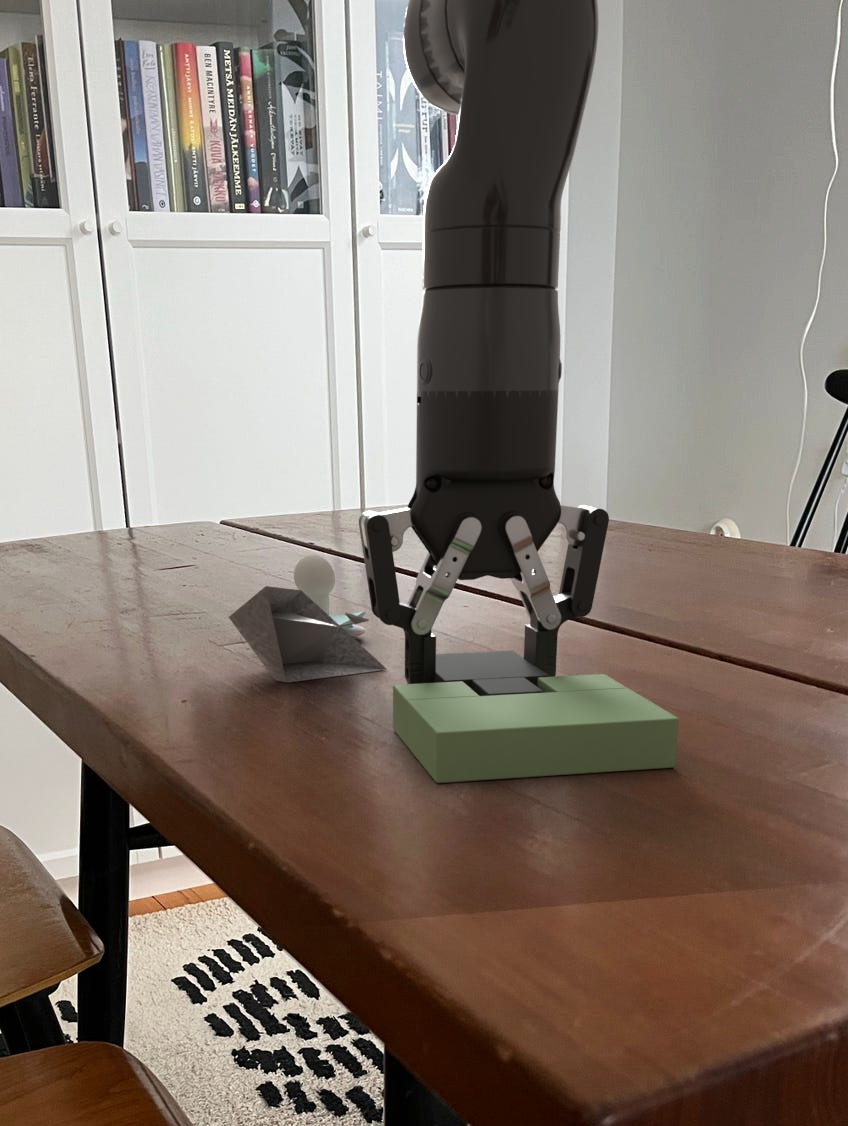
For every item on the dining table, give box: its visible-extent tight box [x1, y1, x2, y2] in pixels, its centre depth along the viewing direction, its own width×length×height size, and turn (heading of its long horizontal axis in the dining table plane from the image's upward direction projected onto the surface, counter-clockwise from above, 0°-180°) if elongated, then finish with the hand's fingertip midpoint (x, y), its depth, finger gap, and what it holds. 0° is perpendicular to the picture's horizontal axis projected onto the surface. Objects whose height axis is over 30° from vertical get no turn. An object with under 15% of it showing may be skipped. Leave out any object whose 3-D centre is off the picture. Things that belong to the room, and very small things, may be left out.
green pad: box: [392, 673, 680, 784], centre depth 65 cm, size 12×10×2 cm
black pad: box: [434, 650, 550, 696], centre depth 71 cm, size 6×10×2 cm, turn 11°
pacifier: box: [293, 554, 366, 638], centre depth 91 cm, size 7×6×6 cm
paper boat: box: [228, 585, 388, 684], centre depth 79 cm, size 12×6×9 cm
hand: (479, 693), depth 73 cm, fingers closed on black pad, 6 cm apart
